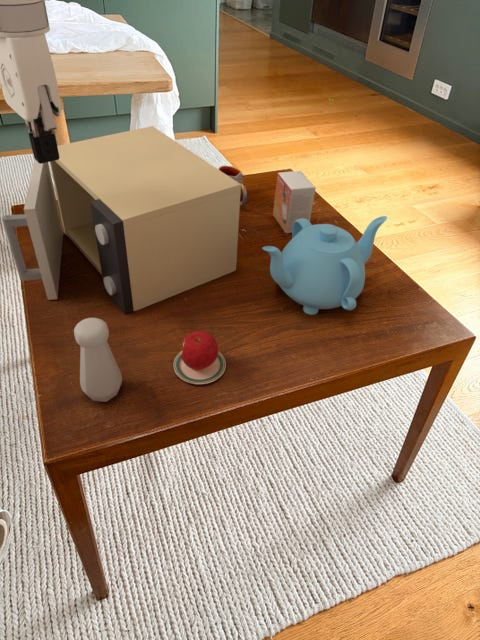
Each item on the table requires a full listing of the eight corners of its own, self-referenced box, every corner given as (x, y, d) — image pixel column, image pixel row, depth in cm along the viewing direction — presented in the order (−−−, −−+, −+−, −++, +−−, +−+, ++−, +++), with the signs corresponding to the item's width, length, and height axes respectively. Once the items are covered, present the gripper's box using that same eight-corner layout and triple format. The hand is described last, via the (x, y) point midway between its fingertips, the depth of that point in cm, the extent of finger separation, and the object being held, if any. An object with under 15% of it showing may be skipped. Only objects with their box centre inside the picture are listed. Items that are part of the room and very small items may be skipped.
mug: (208, 192, 119) (209, 166, 114) (234, 188, 121) (236, 162, 117) (229, 216, 111) (230, 189, 106) (256, 211, 113) (258, 184, 109)
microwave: (121, 316, 84) (107, 224, 72) (53, 236, 101) (33, 150, 89) (236, 270, 96) (241, 184, 84) (157, 205, 113) (152, 125, 101)
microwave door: (22, 302, 85) (-7, 210, 74) (33, 235, 101) (11, 150, 89) (57, 299, 86) (34, 208, 75) (63, 233, 102) (45, 149, 90)
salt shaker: (80, 381, 73) (64, 315, 64) (119, 372, 75) (108, 306, 66) (85, 411, 69) (69, 345, 60) (127, 401, 71) (116, 335, 62)
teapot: (370, 278, 96) (388, 214, 87) (345, 341, 82) (363, 273, 73) (291, 256, 100) (300, 193, 91) (255, 312, 87) (261, 244, 77)
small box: (272, 215, 112) (276, 171, 105) (295, 213, 114) (301, 169, 107) (285, 234, 106) (290, 189, 99) (308, 231, 108) (316, 186, 101)
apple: (191, 394, 72) (190, 363, 68) (164, 361, 77) (161, 330, 73) (235, 372, 76) (237, 341, 72) (207, 341, 81) (207, 311, 76)
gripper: (-35, 7, 63) (4, 147, 76) (4, 33, 55) (41, 186, 67) (24, 3, 67) (52, 137, 79) (69, 27, 58) (93, 173, 71)
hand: (47, 159), depth 73 cm, fingers closed
